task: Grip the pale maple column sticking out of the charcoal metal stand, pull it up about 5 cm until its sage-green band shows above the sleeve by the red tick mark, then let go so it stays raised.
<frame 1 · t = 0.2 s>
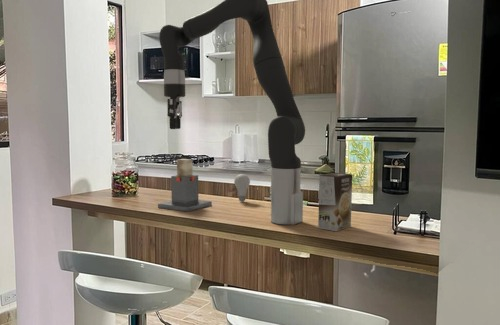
hand: (175, 128, 162), 29 cm above the worktop, fingers open, 8 cm apart
stand: (185, 206, 167), on the worktop
coffee box: (334, 228, 135), on the worktop
column: (184, 180, 166), point 10 cm above the worktop, slide at 0.0 cm
lightbulb: (242, 202, 177), on the worktop
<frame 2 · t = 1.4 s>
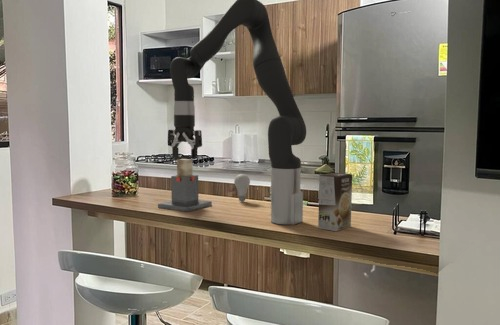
hand: (184, 158, 166), 18 cm above the worktop, fingers open, 8 cm apart
nothing on the worktop moved.
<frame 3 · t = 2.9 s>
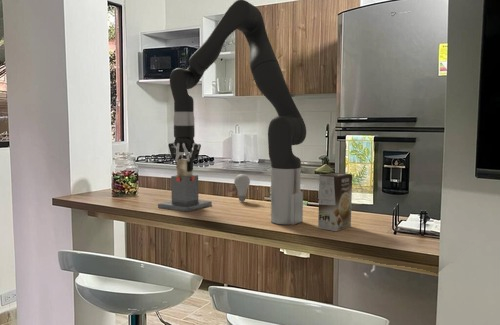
hand: (184, 171, 166), 13 cm above the worktop, fingers closed on column, 4 cm apart
column: (184, 180, 166), point 10 cm above the worktop, slide at 0.0 cm, touching gripper
everything else where it was.
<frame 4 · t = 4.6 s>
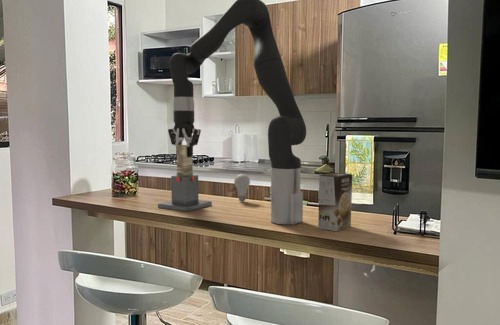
hand: (184, 156, 165), 19 cm above the worktop, fingers closed on column, 4 cm apart
column: (184, 166, 166), point 15 cm above the worktop, slide at 5.3 cm, touching gripper
everything else where it was.
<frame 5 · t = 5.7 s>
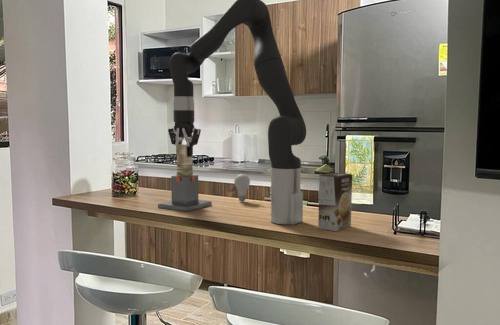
hand: (184, 156, 165), 19 cm above the worktop, fingers closed on column, 4 cm apart
column: (184, 165, 166), point 15 cm above the worktop, slide at 5.4 cm, touching gripper
everything else where it was.
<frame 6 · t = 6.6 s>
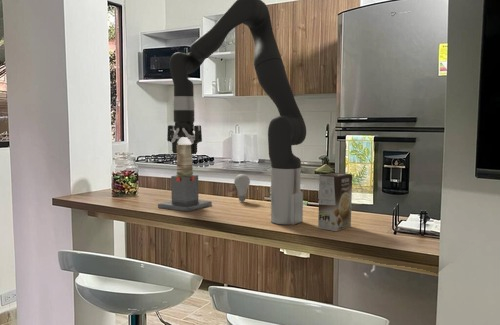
hand: (184, 153, 165), 20 cm above the worktop, fingers open, 8 cm apart
column: (184, 165, 166), point 15 cm above the worktop, slide at 5.4 cm
everything else where it was.
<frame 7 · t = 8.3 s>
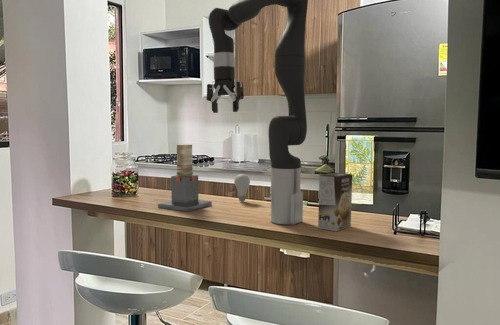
hand: (225, 112, 162), 35 cm above the worktop, fingers open, 8 cm apart
nothing on the worktop moved.
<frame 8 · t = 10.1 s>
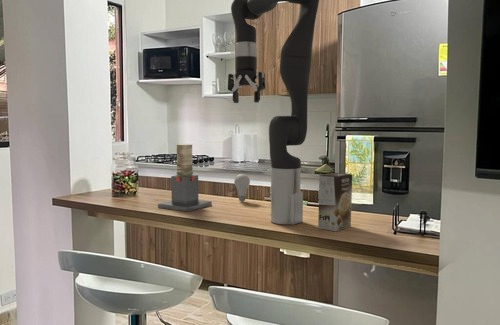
hand: (246, 102, 160), 38 cm above the worktop, fingers open, 8 cm apart
nothing on the worktop moved.
at the end: column slide at 5.4 cm; the gripper is holding nothing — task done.
